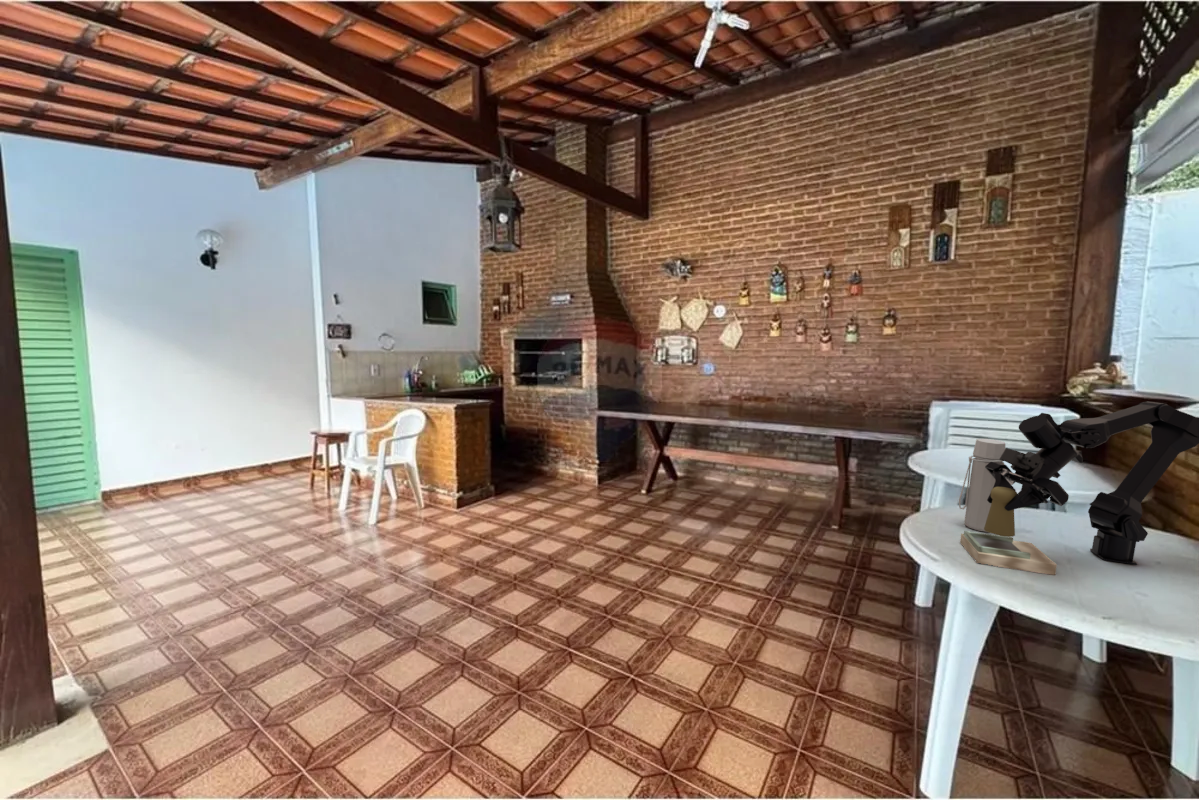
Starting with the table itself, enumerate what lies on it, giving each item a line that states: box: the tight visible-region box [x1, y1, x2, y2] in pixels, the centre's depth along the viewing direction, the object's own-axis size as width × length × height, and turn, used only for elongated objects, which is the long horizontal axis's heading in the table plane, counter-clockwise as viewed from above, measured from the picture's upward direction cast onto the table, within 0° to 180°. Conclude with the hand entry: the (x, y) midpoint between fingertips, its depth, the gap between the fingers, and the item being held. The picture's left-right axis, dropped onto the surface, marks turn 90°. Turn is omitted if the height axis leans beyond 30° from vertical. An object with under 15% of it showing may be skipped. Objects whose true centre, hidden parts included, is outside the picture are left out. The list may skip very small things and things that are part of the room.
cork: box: [984, 487, 1018, 537], centre depth 125 cm, size 6×6×11 cm
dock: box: [959, 530, 1058, 576], centre depth 126 cm, size 15×13×4 cm
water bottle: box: [958, 438, 1006, 533], centre depth 144 cm, size 9×8×25 cm
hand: (997, 505), depth 125 cm, fingers closed on cork, 5 cm apart
